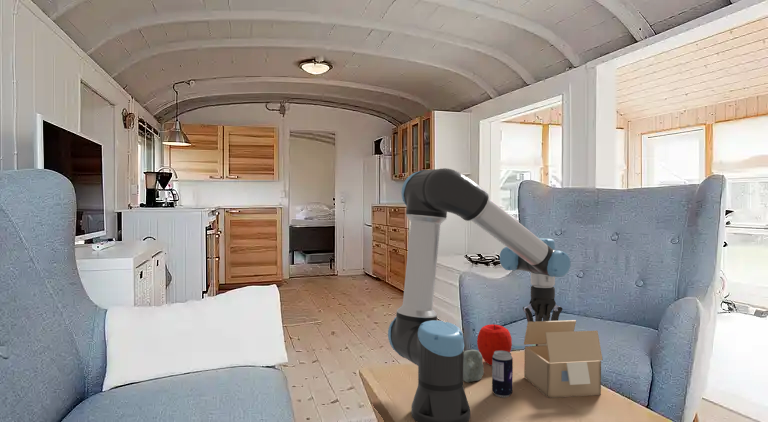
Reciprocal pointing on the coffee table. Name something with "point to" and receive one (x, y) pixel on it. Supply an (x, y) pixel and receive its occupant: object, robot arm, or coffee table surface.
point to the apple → (493, 341)
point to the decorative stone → (472, 366)
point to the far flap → (546, 330)
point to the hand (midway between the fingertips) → (542, 357)
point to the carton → (558, 375)
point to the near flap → (574, 352)
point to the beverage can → (502, 373)
